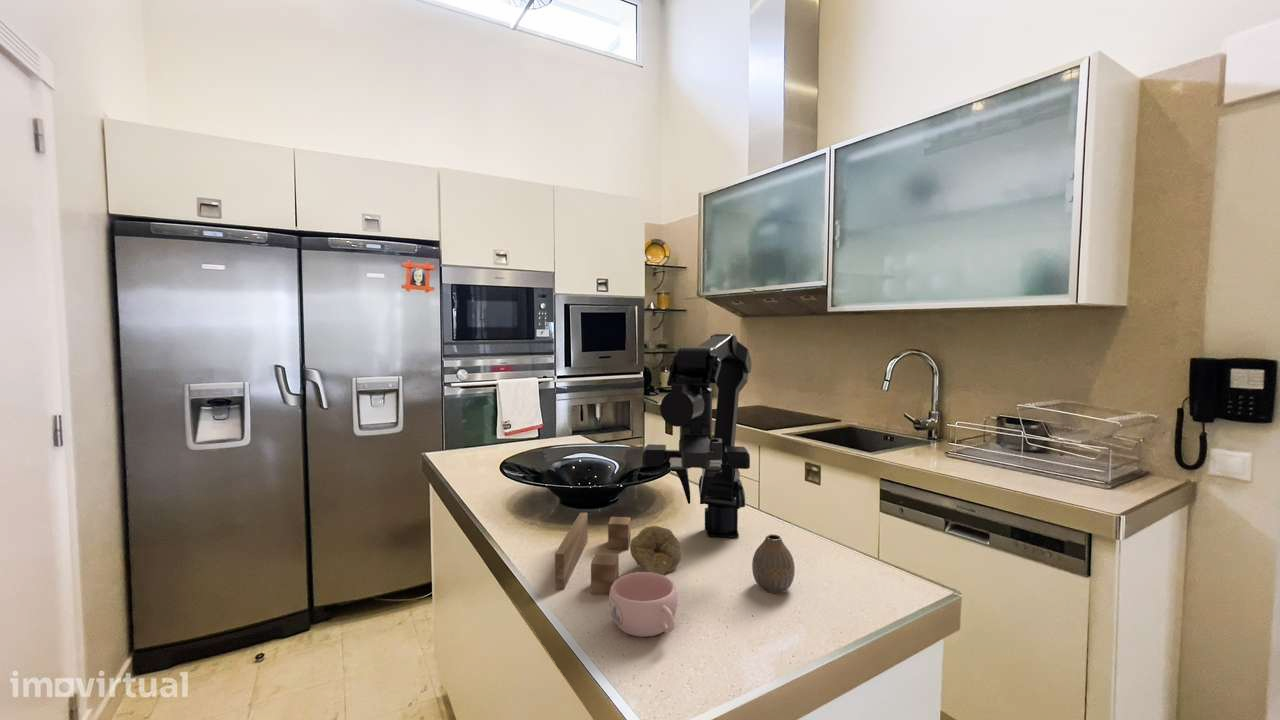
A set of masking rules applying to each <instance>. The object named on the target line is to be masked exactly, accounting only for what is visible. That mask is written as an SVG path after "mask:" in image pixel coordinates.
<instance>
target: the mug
mask: <svg viewBox="0 0 1280 720" xmlns="http://www.w3.org/2000/svg"><path fill="white" fill-rule="evenodd" d="M608 596H609V597H608V602H609V603H608V604H609V605H608V606H609V610H610V615H611V616H612V619H613V621H614V623H615V625H616V626H617V627H618V628H619V629H620V630H621V631H622V632H623V633H625V634H627V635H631V636H634V637H641V638H642V637H643V638H644V637H654V636H657V635H660V634H661V633H667V634H670V633H672V631H673V630H674V628H675V622H674V621H675V620H674V618H675V616H676V614H677V613H676V612H677V608H678V601H679V600H678V591H677V587H676V585H675V583H674V582H673V581H672V580H671V579H670V578H668V577H667V576H665V575H664V574H663V575H660V574H656V573H651V572H642V571H636V572H631V573H626V574H624V575H621V576H620V577H619V578H618V579H617V580H616V581H614V583H613V584H612V586H611V589H610V594H609V595H608Z"/></svg>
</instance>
